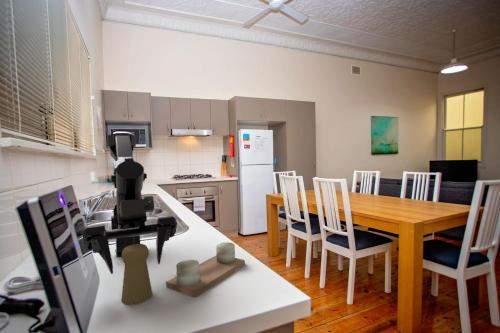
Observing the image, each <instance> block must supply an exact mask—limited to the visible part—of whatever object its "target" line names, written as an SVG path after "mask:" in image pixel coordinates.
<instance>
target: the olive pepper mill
mask: <svg viewBox="0 0 500 333" xmlns="http://www.w3.org/2000/svg"><path fill="white" fill-rule="evenodd" d="M149 254H150V253H149V248H148V246H147V245H146V244H144V243H140V244H133V245H129V246H127V247H125V248H124V250H123V251H122V256H121V259H122V261H123V263H124V268H123V269H124V270H123V280H122V282H123V283H122V291H121V303H122V304H123V305H130V306H131V305H132V306H133V305H139V304H142V303H145V302H146V301H148V300H150V299H151V297H152V296H153V289H152V284H151V279H150V274H149V268H148V267H149V266H148V262H147V259H148V257H149Z"/></svg>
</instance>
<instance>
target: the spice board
mask: <svg viewBox="0 0 500 333" xmlns="http://www.w3.org/2000/svg"><path fill="white" fill-rule="evenodd" d="M235 246H236V245H235V243H233V242H226V241H225V242H220V243H217V244H216V245H215V252H216V254H215V255H214V256H213V257H210V258H209V259H207V260H205V261H203V262H201V263H200V262H199V261H198V260H195V259H185V260H182V261H179V262H177V264H176V265H175V266H176V267H175V269H176V276H175V277H173V278H170V279H169V280H167V281H165V286H166V288H168V289H171V290H174V291H176V292H180V293H183V294H185V295H188V296H191V297H193V298H196V297H199V296H200V295H201V294H202V293H204V292H206V291H207V290H209V289H210V288H212V287H213V286H214V285H216V284H218V283H219V282H221V281H222V280H224V279H226V278H227V277H228V276H230V275H231V274H232V273H234V272H236V271H237V270H239V269H240V268H242V267H243V266H245V265H246V261H245V260H246V259H242V258H238V257H236V250H235V248H236V247H235ZM244 264H245V265H244ZM241 266H242V267H241ZM238 268H239V269H238ZM235 270H236V271H235Z"/></svg>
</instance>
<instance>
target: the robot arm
mask: <svg viewBox="0 0 500 333" xmlns="http://www.w3.org/2000/svg"><path fill="white" fill-rule="evenodd" d="M106 137H107V142H106V143H107V149H109V155H110V156H111V157H112V159H113V160H114V162H113V170H110V183H111V186H114V188H115V189H116V191H115V198H116V204H115V205H114V207H113V208H112V209H113V210H112V212H113V215H111V216H110V222H111V229H107V230H106V225H105V223H104V224H99V225H90V226H89V225H88V226H86V227H85V228H84V229H83V230H82V242H83V248H84V250H85V251H87V252H90V251H92V253H93V254H99V256H100V257H101V258H102V259H103V261H104V263H105V265H106V267H107V269H108V271H109V273H110V274H111V275H113V274H114V263H113V259H112V254H111V249H110V244H109V241H110V240H115V256H116V257H117V258H118V257H122V251H123V250H124V248H125V247H127V246H129V245H133V244H141V236H142V235H150V234H156V238H155V239H156V240H155V246H156V248H155V249H156V260H157V264H158V265H160V264H161V259H162V254H163V248H164V245H165V242H168V241H169V240H170V238H173V237H174V236H176V231H177V227H178V222H177V218H176V217H174V216H173V215H169V216H162V217H157V222H156V223H155V224H153V223H152V224H147V221H148V217H147V213H150V212H154V210H155V200H154V196H153V195H150V196H144V197H143V195H142V190H143V188H144V187H143V184H144V183H145V180H146V179H147V178H148V175H147V173H146V172H145V168H144V166H143V165H142V164H141V163H139V161H137V160H135V159H134V155H133V154H134V149H136V147H137V143H136V135H134V134H132V133H131V132H129V131H115V132H113V133H112V134H108V135H106Z"/></svg>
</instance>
